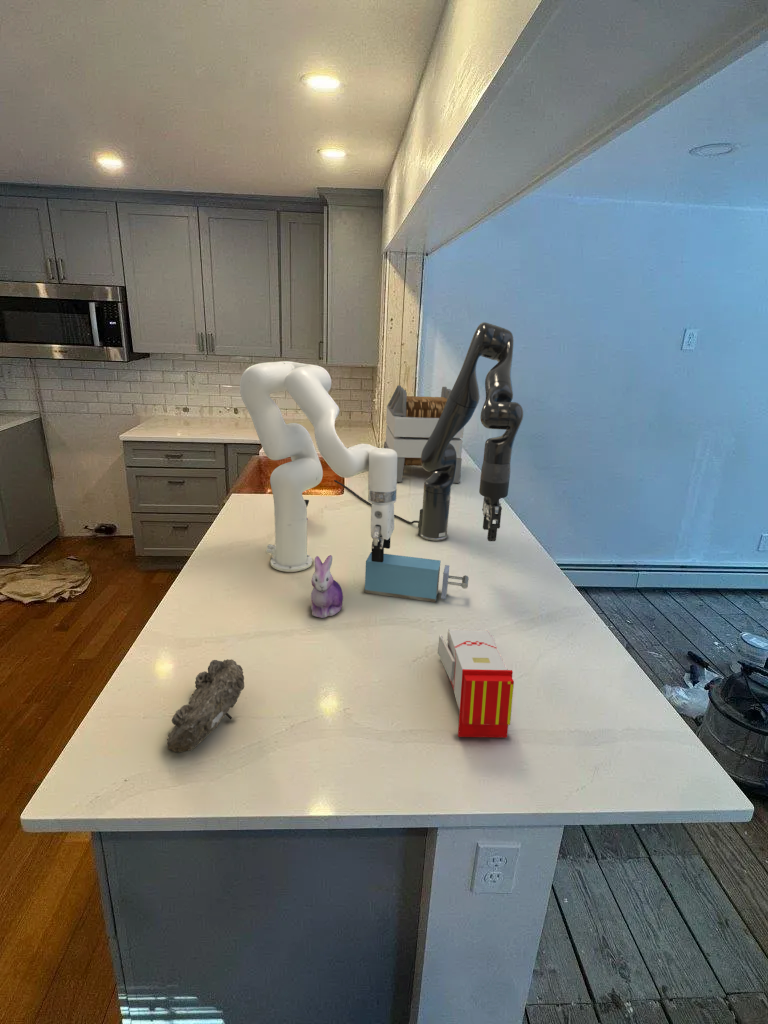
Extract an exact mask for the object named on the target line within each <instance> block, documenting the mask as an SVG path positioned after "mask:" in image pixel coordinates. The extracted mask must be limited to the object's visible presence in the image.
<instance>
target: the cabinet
mask: <svg viewBox="0 0 768 1024" xmlns="http://www.w3.org/2000/svg"><path fill="white" fill-rule="evenodd" d="M371 557H372V551H371V552H369V555H368V557H367V558H366V560H365V570H364V571H365V573H364V575H365V576H364V579H365V580H364V593H365V594H371V595H379V596H386V597H394V598H400V599H401V598H402V599H408V600H409V599H410V600H416V601H424V602H431V603H436V601H437V598H438V593H439V591H438V592H437V582H438V571H439V567H440V568H441V561H442V560H440V559H430V558H423V557H414V556H406V555H399V554H391V553H384V561H383V562H373V561H372V560H371ZM436 593H437V596H436Z"/></svg>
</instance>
